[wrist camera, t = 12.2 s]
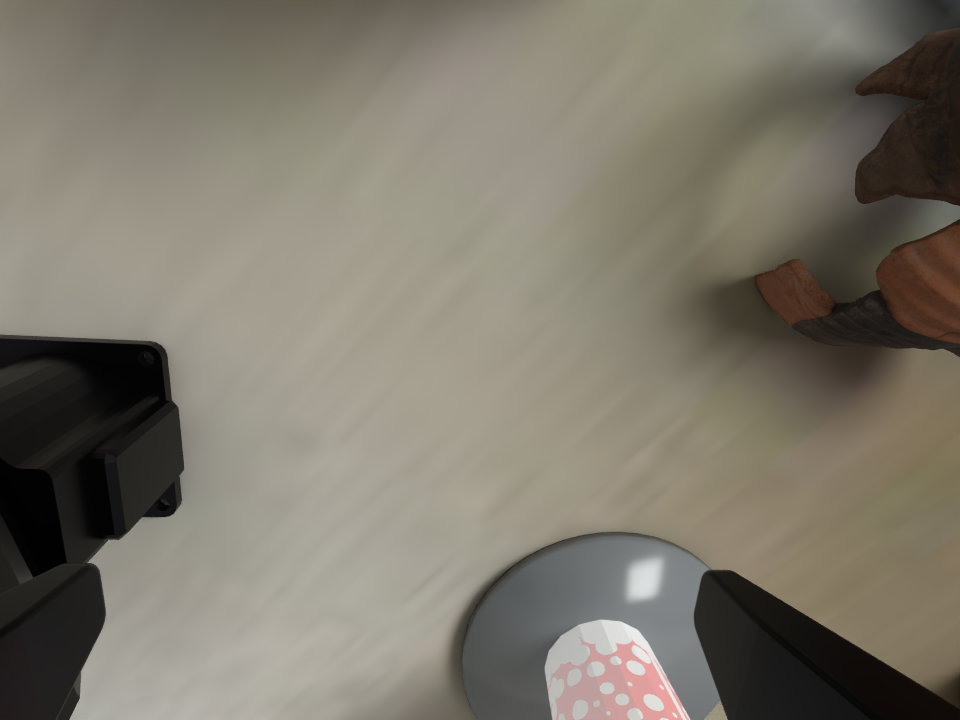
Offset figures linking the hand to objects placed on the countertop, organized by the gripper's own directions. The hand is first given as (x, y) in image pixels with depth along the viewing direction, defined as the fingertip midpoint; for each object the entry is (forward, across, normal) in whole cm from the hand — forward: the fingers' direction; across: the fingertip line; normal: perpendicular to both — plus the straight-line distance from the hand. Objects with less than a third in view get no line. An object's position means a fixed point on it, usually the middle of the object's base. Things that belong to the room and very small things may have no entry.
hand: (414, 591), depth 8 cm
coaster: (+12, -8, +13) cm, 19 cm away
